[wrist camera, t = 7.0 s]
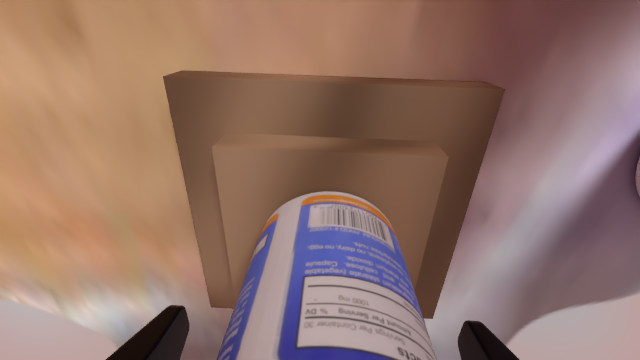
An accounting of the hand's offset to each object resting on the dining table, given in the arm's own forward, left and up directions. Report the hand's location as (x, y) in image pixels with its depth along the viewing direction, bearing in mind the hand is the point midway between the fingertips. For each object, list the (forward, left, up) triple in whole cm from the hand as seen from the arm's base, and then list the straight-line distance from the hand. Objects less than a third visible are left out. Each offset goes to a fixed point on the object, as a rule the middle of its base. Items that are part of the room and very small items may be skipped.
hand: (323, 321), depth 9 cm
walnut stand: (0, 0, -6) cm, 6 cm away
